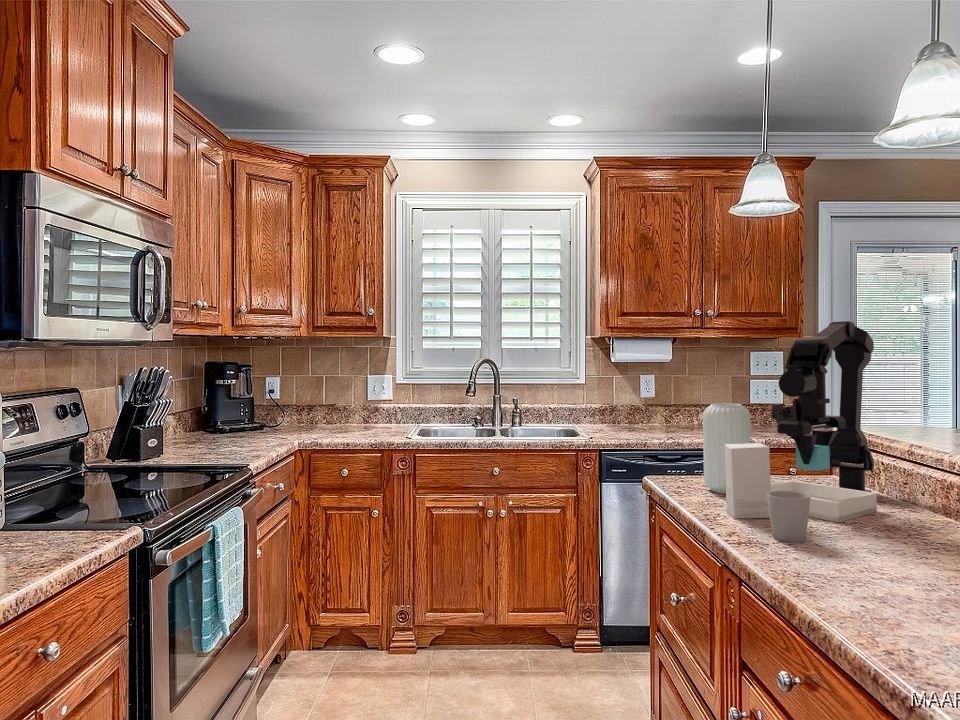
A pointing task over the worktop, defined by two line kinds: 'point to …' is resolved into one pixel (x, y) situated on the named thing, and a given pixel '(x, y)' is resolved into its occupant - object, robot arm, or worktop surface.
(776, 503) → the cup
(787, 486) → the grey tray
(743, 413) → the vase
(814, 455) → the teal block
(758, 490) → the skincare box
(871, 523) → the worktop surface
